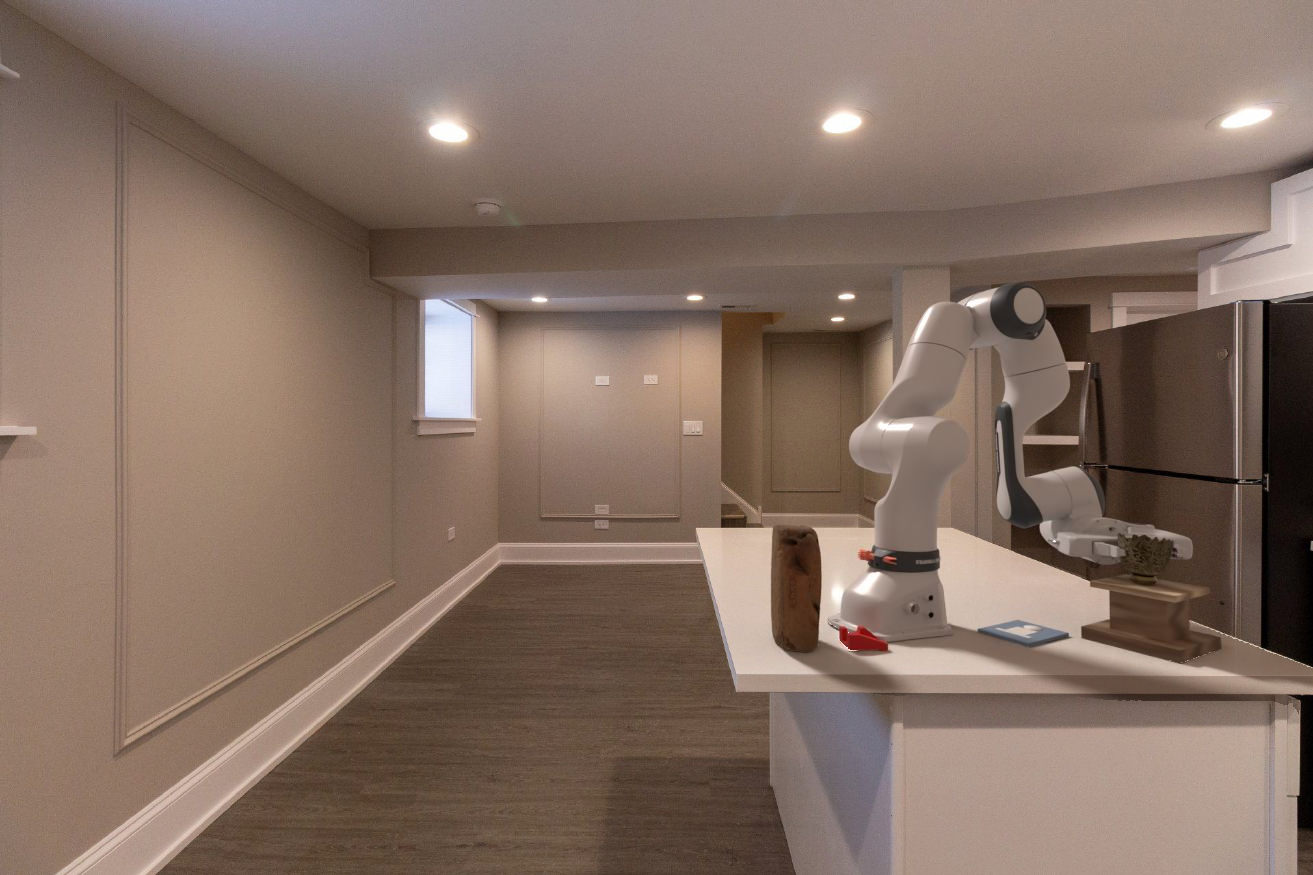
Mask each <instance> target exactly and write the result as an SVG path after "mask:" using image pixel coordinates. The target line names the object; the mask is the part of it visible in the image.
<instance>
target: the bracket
mask: <svg viewBox="0 0 1313 875" xmlns="http://www.w3.org/2000/svg"><path fill="white" fill-rule="evenodd" d="M838 631H839V632H838V636H839V638H838V640H839V639H840V641H841V642H842V643H843V644H844V645H845V646H846V647H848V649H850V650H858V651H879V650H880V651H879V652H888V651H889V643H888V642H885V641H882V640H879V639H878V638H877V637H876V636H874V635H873V634H872V633H871V632H870V631H868V630H867V629H866V628H865V627H864V626H858V628H857V630H856V632H854V633H848V631H847V628H846V627H845V626H839V629H838ZM882 650H883V651H882Z"/></svg>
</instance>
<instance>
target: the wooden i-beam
mask: <svg viewBox="0 0 1313 875" xmlns="http://www.w3.org/2000/svg"><path fill="white" fill-rule="evenodd" d="M1129 575H1130V574H1128V573H1124V574H1119V575H1114V576H1110V577H1109V576H1108V577H1104V578H1098V579H1093V580H1090V581H1089V587H1090V588H1094V589H1100V590H1105V591H1109V593H1108V594H1109V602H1108V603H1109V604H1108V606H1109V618H1108V619H1105V620H1101V621H1097V622H1092V623H1089V624H1086V625H1081V626H1080V635H1081V636H1080V639H1083V640H1089V641H1092V642H1096V643H1100V644H1104V645H1107V646H1111V647H1115V648H1119V649H1123V650H1128V651H1130V652H1135V653H1139V654H1142V655H1146V656H1149V657H1153V658H1157V659H1161V658H1162V660H1164V661H1165V660H1166V661H1169V660H1171V661H1170V662H1173V661H1174V662H1173V663H1176V662H1179V663H1178V664H1180V663H1181V662H1184V663H1186V662H1185V661H1187V660H1190V661H1192V660H1194V659H1193V658H1195V659H1197V658H1196V657H1198V656H1201V657H1203V656H1202V655H1204V654H1206V655H1209V654H1210V653H1209V652H1212V653H1214V651H1215V652H1217V651H1220V650H1222V637H1221V636H1218V635H1214V634H1209V633H1205V632H1201V631H1195V630H1191V628H1190V600H1191V599H1194V598H1199V597H1202V596H1206V595H1210V594H1211V588H1210V586H1209V587H1208V586H1203V585H1202V586H1201V585H1197V584H1190V583H1183V582H1176V581H1170V580H1165V579H1158V578H1156V579H1157V582H1156V584H1154V585H1143V584H1138V583H1134V582H1132V581H1131V580H1130V578H1129ZM1219 649H1220V650H1219ZM1208 653H1209V654H1208ZM1204 656H1205V655H1204ZM1198 658H1199V657H1198ZM1191 659H1192V660H1191ZM1187 662H1188V661H1187ZM1181 664H1182V663H1181Z"/></svg>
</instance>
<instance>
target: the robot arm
mask: <svg viewBox="0 0 1313 875" xmlns="http://www.w3.org/2000/svg"><path fill="white" fill-rule="evenodd" d="M1046 317H1047V306H1046V301H1045V298H1044V296H1043V295H1042V293H1041V292H1040V290H1038V288H1036V287H1035V286H1034V285H1032V284H1030V283H1028V282H1025V281H1024V282H1023V281H1022V282H1021V281H1017V282H1009V283H1005V284H1003V285H1000V286H999V287H994V288H990V289H987V290H984V291H979V292H976V293H974V294H971V295H970V296H967V297H965V298H963V299H962V300H960V301H955V302H954V301H939V302H936V303H934V304H932V305H930V306H929V307H927V308H926V310H925V311H924V313H923V315H922V316H921V318H920V319H919V321H918V323H917V324H916V327H915V329H914V331H913V332H912V335H911V336H910V339H909V341H908V345H907V348H906V350H905V353H904V356H903V358H902V361H901V364H900V367H899V368H898V371H897V373H896V376H895V379H894V381H893V383H892V384H891V387H890V388H889V390H888V391H887V393H886V395H885V397H884V398H882V400H881V402H880V404H878V406H877V408H876V409H875V410H874V412H873V413H871V415H870V416H869V417H868V418H866V420H865V421H864V422H862V424H860V425H859V426H857V427H856V428H855V429H854V430H853V431H852V433H851V435H850V437H849V441H848V442H849V443H848V449H849V454H850V457H851V459H852V460H853V462H854V463H855V465H858V466H859V467H861V468H863V469H865V470H868V471H871V472H873V473H877V474H888V475H889V474H890V475H892V476H891V477H892V478H891V483H890V485H889V488H888V490H887V492H886V494H885V495H884V496H883V497H882V498H881V499H879V500H878V501H877V503H876V504H875V506H874V509H873V510H874V544H873V546H872V547H871V550H866V549H862V548H861V549H859V552H858V554H857V558H858V559H859V560H860V561H865V562H867V565H868V566H867V567H866V568H865V569H864V570H863V571H862V572H861V574H859V575H858V577H857V578H856V579H855V580H853V582H851V583H850V584H849V585H848V586H847V587H846V589H844V590H843V593H842V596H841V602H840V613H836V614H833V615H830V616H828V617H827V622H828V621H829V622H830V623H831V624H832V625H833V626H836V627H837V628H839V626H845V627H846V628H847V631H848V632H849V633H854V632H856V630H857V628H858V626H864V627H865V628H866V629H867V630H868V631H870V632H871V633H872V634H873V635H874V636H876V637H877V638H878V639H879V640H882V641H885V642H886V643H889V642H897V641H905V640H913V639H924V638H933V637H940V636H941V637H943V636H950V635H952V634H953V630H952V627H951V626H950V625H949V624H948V619H947V618H948V617H947V608H946V600H945V590H944V586H943V584H942V582H941V579H940V576H939V572H938V571H939V569H940V568H941V556H940V549H939V548H938V513H939V504H940V502H941V500H942V499H941V498H942V496H943V492H944V490H945V488H946V486H947V484H948V482H949V481H950V479H951V478H952V477H953V475H955V474H956V473H957V472H958V471H959V470H960V469H961V468H962V467H963V466H964V465H965V464H966V461H968V460H967V459H968V458H969V454H970V440H969V437H968V434H967V432H966V430H965V429H964V427H963V426H962V425H961V424H959V423H958V422H956V421H955V420H953V419H952V420H951V419H948V418H947V419H946V418H943V417H937V416H935V415H936V414H937V413H938V412H939V411H941V410H942V409H943V408H945V407H946V406H948V405H949V404H950V403H951V401H952V400H953V399H954V397H955V395H956V393H957V390H958V386H959V383H960V382H961V378H962V375H963V371H964V369H965V366H966V364H967V359H968V357H969V352H970V351H971V350H973V349H978V348H984V347H993V348H994V349H995V350H996V351H997V352H998V353H999V356H1000V364H1001V369H1002V374H1003V377H1004V386H1005V388H1004V394H1003V398H1002V400H1001V402H1000V403H999V404H998V405H997V406H996V408H995V411H994V420H993V421H994V422H993V423H994V449H995V460H996V461H995V462H996V476H997V477H996V478H997V480H996V481H997V482H996V489H995V490H996V492H995V496H996V497H995V500H996V508H997V510H998V513H999V514H1000V516H1001V518H1002V519H1003V520H1004V521H1005V522H1007V523H1009V524H1010V525H1013V526H1015V527H1019V528H1020V529H1027V528H1031V527H1034V526H1037V525H1039V533H1040V534H1041V536H1042V538H1043V539H1044V540H1045V541H1046V542H1047V543H1048V544H1049V545H1051V547H1054V548H1055V549H1057V551H1058V552H1060V553H1062V554H1064V555H1067V556H1070V557H1073V558H1075V557H1076V558H1082V559H1084V560H1087V561H1090V562H1094V563H1097V564H1099V565H1107V566H1109V565H1114V564H1119V563H1121V561H1120V557H1126V553H1125V552H1126V548H1125V547H1122V546H1118V537H1117V534H1119V533H1120V534H1121V535H1123V534H1124V535H1125V537H1126V538H1129V537H1130V538H1132V535H1134V534H1135V535H1137V536H1138V537H1139V536H1142V535H1146V536H1148V537H1150V538H1151V540H1152V539H1154V538H1155V537H1157V538H1158V540H1159V542H1160V541H1161V540H1162V539H1163V538H1165V539H1166V540H1169V539H1170V540H1171V541H1172V540H1173V541H1174V543H1173V547H1172V553H1171V557H1170V560H1190V559H1191V558H1192V557H1193V552H1194V546H1193V542H1192V539H1191V538H1189V537H1187V536H1185V535H1182V534H1178V533H1174V532H1171V531H1168V530H1161V529H1157V528H1155V525H1153V524H1150V523H1149V524H1147V523H1139V522H1128V521H1123V520H1119V519H1114V518H1109V517H1104V516H1105V508H1106V499H1105V498H1106V497H1105V494H1104V490H1103V487H1102V485H1101V483H1100V482H1099V480H1098V479H1097V478H1096V477H1095V476H1093V475H1092V474H1091V473H1090V472H1088V471H1087V470H1085V469H1083V468H1081V467H1079V466H1076V465H1071V466H1067V467H1063V468H1058V469H1054V470H1049V471H1047V472H1043V473H1039V474H1034V475H1032V476H1026V475H1025V464H1024V451H1023V450H1024V449H1023V448H1024V447H1023V445H1024V444H1023V440H1024V437H1025V435H1026V433H1027V431H1028V429H1029V428H1030V427H1032V426H1033V425H1034V424H1035V423H1036V422H1037V421H1039V420H1040V419H1042V418H1043V417H1045V416H1046V415H1048V414H1049V413H1052V412H1053V411H1054V410H1055V409H1057V407H1059V406H1060V405H1061V404H1062V403H1063V401H1064V400H1065V399H1066V397H1067V395H1068V393H1069V392H1070V388H1071V379H1070V373H1069V369H1068V366H1067V365H1068V364H1067V362H1066V358H1065V354H1064V351H1063V348H1062V346H1061V343H1060V341H1059V339H1058V336H1057V334H1056V332H1055V330H1054V328H1053V326H1052V324H1051V323H1050V321H1049V320H1048V319H1046ZM833 626H832V627H833Z"/></svg>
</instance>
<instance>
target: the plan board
mask: <svg viewBox="0 0 1313 875" xmlns="http://www.w3.org/2000/svg"><path fill="white" fill-rule="evenodd" d="M977 633H978V634H981V635H984V636H985V635H986V636H990V637H993V638H996V639H999V640H1003V641H1007V642H1010V643H1013V644H1016V645H1020V646H1023V647H1027V648H1031V647H1034V646H1038V645H1042V644H1045V643H1049V642H1053V641H1057V640H1061V639H1064V638H1069V637H1070V633H1069V632H1067V631H1062V630H1060V629H1055V628H1052V627H1047V626H1045V625H1044V626H1043V625H1040V624H1035V623H1032V622H1027V621H1023V620H1020V619H1015V620H1011V621H1010V620H1009V621H1006V622H1002V623H1001V622H1000V623H998V624H993V625H989V626H984V627H981V628H980V627H979V628H977Z"/></svg>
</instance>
